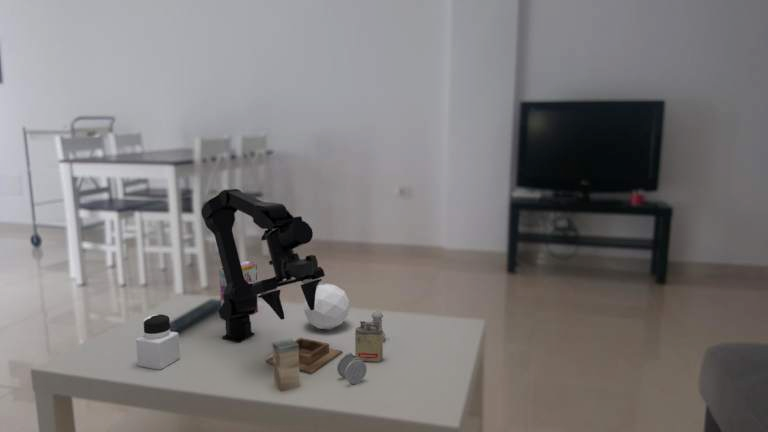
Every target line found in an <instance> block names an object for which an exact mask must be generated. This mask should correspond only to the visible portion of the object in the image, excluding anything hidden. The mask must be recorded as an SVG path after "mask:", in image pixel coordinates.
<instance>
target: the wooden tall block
mask: <svg viewBox="0 0 768 432" xmlns="http://www.w3.org/2000/svg"><path fill="white" fill-rule="evenodd" d="M295 341H296V340H294V339H293V338H286V339H282V340H277V341H273V342H272V355H273V356H272V357H273V361H274V365H273V380H274V381H273V383H274V386H276V388H278V389H279V390H280V391H281V392H284V391H288V390H291V389H295V388H299V387H300V385H301V383H300V382H301V381H300V371H299V344H297V343H296V342H295Z"/></svg>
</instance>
